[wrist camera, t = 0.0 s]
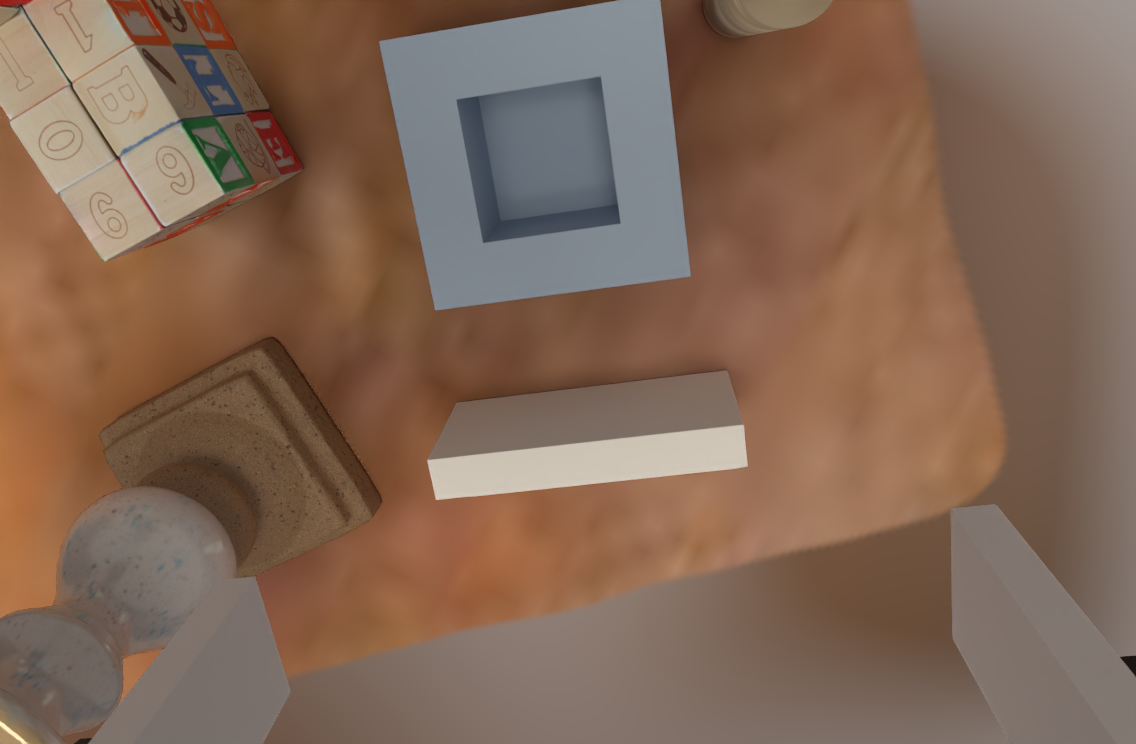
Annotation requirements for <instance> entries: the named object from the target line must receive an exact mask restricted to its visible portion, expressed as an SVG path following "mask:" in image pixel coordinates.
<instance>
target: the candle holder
mask: <svg viewBox="0 0 1136 744" xmlns="http://www.w3.org/2000/svg"><path fill="white" fill-rule="evenodd" d="M99 437H100V439H101V441H102V443H103V445H104V446H105V448H106V449H105V450H104V451H103V452H104V454H105V457H106V461H107V463H108V464H109V466H110V467H111V469H112V471H113V472H114V474H115V476H116V477H117V479H118V480H119V482H120V483H121V485H122V486H123V487H124V489H121V490H117V491H114V492H112V493H109V494H107V495H104V496H103V497H101V498H100V499H98V500H96V501H95V502H93V503H92V504H91V505H89V506H88V507H87V508H86V509H85V510H84V511H83V512H82V513H80V515H79V516H78V517H77V518H76V520H75V521H74V522H73V524H72V525H71V527H70V528H69V530H68V532H67V534H66V536H65V538H64V540H63V543H62V545H61V548H60V553H59V557H58V562H57V570H56V596H55V599H54V603H53V605H52V606H46V607H41V608H28V609H23V610H18V611H15V612H12V613H10V614H7V615H5V616H4V617H2V618H0V744H66V743H65V742H64V741H63V739H62V738H61V737H62V736H64V735H66V734H69V733H76V732H81V731H84V730H87V729H90V728H93V727H95V726H96V725H98V724H100V723H102V722H103V721H104V720H105V719H106V718H108V717H109V715H110V714H111V713H112V712H113V711H114V709H115V708H116V707H117V705H118V703H119V701H120V699H121V695H122V691H123V680H124V678H123V659H125V658H127V657H129V656H132V655H135V654H139V653H146V652H151V651H157V650H162V649H164V648H165V646H166V645H167V644H168V643H169V641H170V640H171V639H172V638H173V636H174V635H175V634H176V633H177V631H178V630H179V629H180V628H181V626H182V625H183V624H184V623H185V621H186V620H187V619H188V618H189V616H190V615H191V614H192V612H193V611H194V610H195V609H196V607H197V606H198V605H199V604H200V602H201V601H202V600H203V599H204V597H205V596H206V595H207V594H208V592H209V591H210V590H211V589H212V587H213V586H214V585H215V584H216V582H217V581H218V580H225V579H235V578H245V577H253V576H256V575H258V574H260V573H262V572H264V571H266V570H268V569H271V568H273V567H275V566H277V565H279V564H281V563H284V562H286V561H288V560H290V559H292V558H294V557H296V556H299V555H301V554H303V553H305V552H307V551H309V550H311V549H314V548H316V547H318V546H320V545H322V544H324V543H326V542H329V541H331V540H333V539H335V538H337V537H339V536H342V535H344V534H346V533H348V532H350V531H351V530H353V529H355V528H357V527H359V526H360V525H362V524H364V523H366V522H368V521H369V520H370V519H371V518H372V517H373V516H374V514H375V513H376V511H377V509H378V508H379V506H380V504H381V503H382V501H381V497H380V495H379V493H378V491H377V489H376V488H375V486H374V484H373V483H372V481H371V479H370V477H369V476H368V474H367V473H366V471H365V469H364V468H363V466H362V465H361V463H360V462H359V460H358V459H357V457H356V456H355V454H354V453H353V451H352V450H351V448H350V447H349V445H348V444H347V442H346V440H345V439H344V437H343V436H342V434H341V433H340V431H339V430H338V428H337V427H336V425H335V424H334V422H333V421H332V419H331V418H330V416H329V415H328V413H327V411H326V410H325V408H324V407H323V405H322V404H321V402H320V401H319V399H318V398H317V396H316V395H315V393H314V392H313V390H312V389H311V387H310V386H309V384H308V382H307V381H306V379H305V378H304V376H303V375H302V373H301V372H300V370H299V369H298V367H297V366H296V364H295V363H294V361H293V360H292V359H291V357H290V356H289V355H288V353H287V352H286V350H285V349H284V348H283V346H282V345H281V344H280V342H279V341H277V340H276V339H275V338H267V339H264V340H262V341H260V342H258V343H256V344H254V345H252V346H249V347H247V348H245V349H243V350H241V351H240V352H238V353H236V354H234V355H232V356H230V357H228V358H226V359H225V360H223V361H221V362H219V363H217V364H215V365H213V366H212V367H210V368H208V369H206V370H204V371H202V372H200V373H199V374H197V375H195V376H193V377H191V378H189V379H187V380H185V381H184V382H182V383H180V384H178V385H176V386H174V387H172V388H171V389H169V390H167V391H165V392H163V393H161V394H159V395H158V396H156V397H154V398H152V399H150V400H148V401H146V402H144V403H143V404H141V405H139V406H137V407H136V408H134V409H132V410H131V411H129V412H127V413H126V414H124V415H123V416H121V417H119V418H118V419H117V420H115V421H114V422H113V423H111V424H110V425H108V426H107V427H106V428H104V429H103V430H102V432H101V433H100V434H99Z"/></svg>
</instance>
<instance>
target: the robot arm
mask: <svg viewBox="0 0 1136 744" xmlns="http://www.w3.org/2000/svg"><path fill="white" fill-rule="evenodd" d="M951 561H952V638H953V640H954V642H955V643H956V646H957V647H958V649H959V651H960V653H961V655H962V657H963V658H964V660H965V662H966V664H967V666H968V667H969V669H970V671H971V673H972V675H973V676H974V678H975V680H976V682H977V684H978V686H979V687H980V689H981V691H982V693H983V695H984V697H985V698H986V700H987V702H988V704H989V706H990V707H991V709H992V711H993V713H994V715H995V717H996V718H997V720H998V722H999V724H1000V726H1001V727H1002V729H1003V731H1004V733H1005V735H1006V736H1007V738H1008V740H1009V742H1010V744H1136V656H1125V657H1119V656H1118V654H1117V653H1116V652H1115V651H1114V649H1113V648H1112V647H1111V646H1110V645H1109V643H1108V642H1107V641H1106V640H1105V638H1104V637H1103V636H1102V635H1101V633H1100V632H1099V631H1098V630H1097V629H1096V628H1095V626H1094V625H1093V624H1092V622H1091V621H1090V620H1089V619H1088V617H1087V616H1086V615H1085V614H1084V612H1083V611H1082V610H1081V609H1080V608H1079V607H1078V605H1077V604H1076V603H1075V601H1074V600H1073V599H1072V598H1071V596H1070V595H1069V594H1068V593H1067V592H1066V591H1065V589H1064V588H1063V587H1062V585H1061V584H1060V583H1059V582H1058V581H1057V579H1056V578H1055V577H1054V576H1053V574H1052V573H1051V572H1050V571H1049V569H1047V567H1046V566H1045V564H1044V563H1043V562H1042V561H1041V560H1040V558H1039V557H1038V556H1037V555H1036V553H1035V552H1034V551H1033V550H1032V548H1031V547H1030V546H1029V545H1028V544H1027V542H1026V541H1025V540H1024V539H1023V537H1022V536H1021V535H1020V534H1019V532H1018V531H1017V530H1016V529H1015V528H1014V526H1013V525H1012V524H1011V523H1010V521H1009V520H1008V519H1007V518H1006V516H1005V515H1004V514H1003V513H1002V512H1001V511H1000V509H999V508H998V507H997V506H996V505H995V504H994V505H984V506H974V507H963V508H953V509H951ZM290 692H291V691H290V688H289V685H288V682H287V678H286V675H285V672H284V669H283V665H282V662H281V659H280V656H279V652H278V649H277V646H276V643H275V639H274V636H273V633H272V630H271V626H270V623H269V620H268V617H267V614H266V610H265V607H264V604H263V601H262V597H261V594H260V591H259V588H258V584H257V581H256V578H255V577H245V578H235V579H225V580H218V581H217V582H216V584H215V585H214V586H213V587H212V589H211V590H210V591H209V592H208V594H207V595H206V596H205V597H204V599H203V600H202V601H201V602H200V604H199V605H198V606H197V607H196V609H195V610H194V611H193V612H192V614H191V615H190V616H189V618H188V619H187V620H186V621H185V623H184V624H183V625H182V626H181V628H180V629H179V630H178V631H177V633H176V634H175V635H174V636H173V638H172V639H171V640H170V641H169V643H168V644H167V645H166V646H165V648H164V649H163V650H162V651H161V653H160V654H159V655H158V656H157V658H156V659H155V660H154V661H153V663H152V664H151V665H150V667H149V668H148V669H147V670H146V672H145V673H144V674H143V675H142V677H141V678H140V679H139V680H138V682H137V683H136V684H135V685H134V687H133V688H132V689H131V690H130V692H129V693H128V694H127V695H126V697H125V698H124V699H123V700H122V702H121V703H120V704H119V705H118V707H117V708H116V709H115V710H114V712H113V713H112V714H111V716H110V717H109V718H108V719H107V721H106V722H105V723H104V724H103V726H102V727H101V728H100V729H99V731H98V732H97V733H96V734H95V736H94V737H93V738H87V739H80V740H78V741H77V742H76V743H75V744H263V742H264V740H265V738H266V736H267V735H268V733H269V731H270V729H271V727H272V725H273V723H274V722H275V720H276V718H277V716H278V714H279V712H280V711H281V709H282V707H283V705H284V703H285V701H286V699H287V698H288V696H289V694H290Z"/></svg>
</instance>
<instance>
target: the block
mask: <svg viewBox="0 0 1136 744" xmlns="http://www.w3.org/2000/svg"><path fill="white" fill-rule="evenodd" d="M379 45H380V49H381V54H382V59H383V64H384V68H385V73H386V78H387V83H388V88H389V92H390V97H391V102H392V107H393V111H394V116H395V121H396V126H397V130H398V135H399V140H400V145H401V150H402V154H403V159H404V164H405V169H406V173H407V178H408V183H409V188H410V193H411V197H412V202H413V207H414V212H415V216H416V221H417V226H418V231H419V235H420V240H421V245H422V250H423V255H424V259H425V264H426V269H427V274H428V278H429V283H430V288H431V293H432V297H433V302H434V307H435V310H443V309H450V308H458V307H465V306H473V305H480V304H488V303H495V302H503V301H510V300H518V299H526V298H533V297H541V296H548V295H556V294H563V293H571V292H578V291H586V290H593V289H601V288H608V287H616V286H624V285H631V284H639V283H646V282H654V281H661V280H669V279H676V278H684V277H691V274H690V265H689V256H688V247H687V238H686V229H685V220H684V210H683V201H682V192H681V183H680V174H679V165H678V156H677V147H676V138H675V129H674V120H673V111H672V102H671V93H670V84H669V75H668V65H667V56H666V47H665V38H664V29H663V20H662V11H661V2H660V0H618V1H612V2H606V3H600V4H594V5H588V6H583V7H577V8H571V9H565V10H559V11H553V12H547V13H542V14H536V15H530V16H524V17H518V18H512V19H506V20H501V21H495V22H489V23H483V24H477V25H471V26H465V27H459V28H454V29H448V30H442V31H436V32H430V33H424V34H418V35H413V36H407V37H401V38H395V39H389V40H383V41H379Z"/></svg>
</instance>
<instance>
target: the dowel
mask: <svg viewBox="0 0 1136 744" xmlns="http://www.w3.org/2000/svg"><path fill="white" fill-rule="evenodd" d="M832 2H833V0H702V8H703V13H704V16H705V19H706V21H707V23H708V24H709V26H710V27H711V28H712V29H713V30H714V31H715V32H717V33H718V34H720V35H722V36H725V37H728V38H741V37H746V36H751V35H757V34H762V33H767V32H772V31H777V30H782V29H787V28H792V27H797V26H801V25H804V24H806V23H809V22H811V21H812V20H814V19H816V18H817V17H818V16H820V15H821V14H822V13H823V12H824V11H825V10H826V9H827V8H828V7H829V6H830V4H831V3H832Z"/></svg>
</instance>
